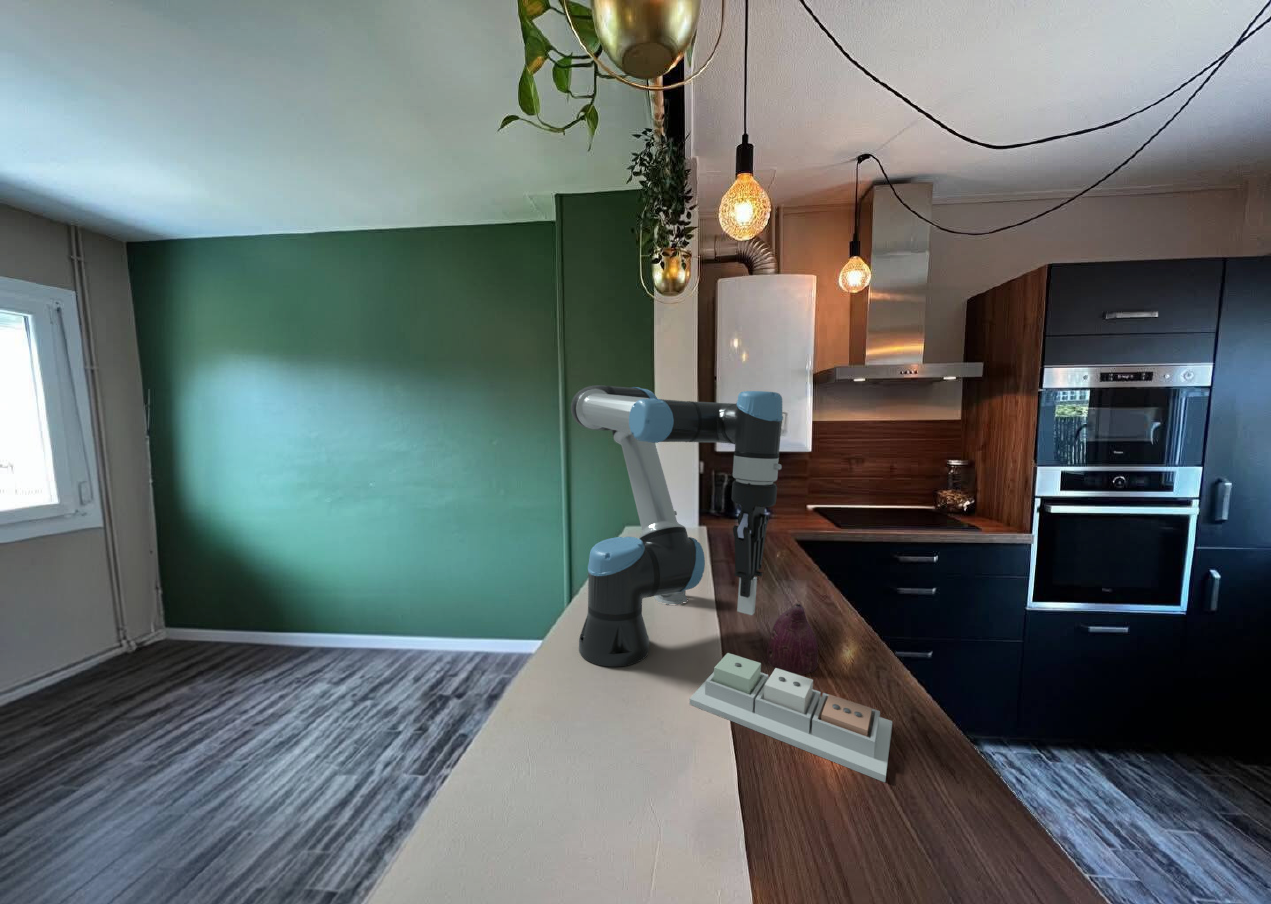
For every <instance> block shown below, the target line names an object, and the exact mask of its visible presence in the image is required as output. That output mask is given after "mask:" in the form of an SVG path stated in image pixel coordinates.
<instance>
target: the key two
mask: <svg viewBox="0 0 1271 904" xmlns="http://www.w3.org/2000/svg"><path fill="white" fill-rule="evenodd" d="M813 690H814V679H812V678H809V677H805V676H803V675H801V674H796V673H791V672H788V671H785V670H782V669H779V668H776V667H775V668H774V670H773V671H772V673H771V674H770V676H768V680H767V682H766V683H765V688H764V700H766V701H769V702H771V703H774V704H777V705H780V706H783V707H785V708H788V709H791V710H794V711H797V712H799V713H802V714H805V712H806V710H807V708H808V706H809V703H810V701H811V699H812V694H813Z"/></svg>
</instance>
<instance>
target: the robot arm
mask: <svg viewBox="0 0 1271 904" xmlns="http://www.w3.org/2000/svg"><path fill="white" fill-rule="evenodd" d="M570 412H571V416H572V418H573V419H574V421H575V423H577V424H578V425H579V426H581V427H582V428H585V429H589V430H594V431H610V432H611V433H612V437H613V441H614V443H616V444H619V445H621V449H622V453H623V457H624V461H625V466H626V469H627V473H628V478H629V482H630V486H631V487H630V488H631V490H632V491H631V492H632V495H633V499H634V502H635V505H636V506H635V507H636V511H637V515H638V519H639V520H638V521H639V523H640V527H641V530H642V531H641V533H640V535H638V537H634V536H618V537H617V536H616V537H611V538H610V537H609V538H607V539H603V540H601V541H599V542H597V543H595V544H594V546H592V548H591V549H590V552H589V557H588V558H589V559H588V565H587V571H588V580H587V581H588V582H587V586H588V588H587V590H588V591H587V593H588V594H587V596H588V597H587V614H586V618H585V621H584V624H583V626H582V630H581V632H580V636H579V639H578V651H579V654H580V656H581V657H582V658H583V659H585V661H587V662H589V663H592V664H594V665H599V666H601V667H616V668H617V667H625V666H626V667H627V666H630V665H633V664H636V663H639V662H640V661H642V660H644V659H645V658H646V657H647V656H648V654H649V651H650V637H649V635H648V632H647V628H646V624H645V620H644V617H643V599H646V598H652V597H654V596H658V595H663V594H668V593H674V592H677V593H680V592H682V591H684V590H686V591H687V590H691V589H694V588H695V587H697V586H698V585H699V584H700V583H701V581H702V578H703V576H704V572H705V569H706V567H705V565H706V560H705V559H706V558H705V552H704V548H703V547H702V545H701V543H700V542H698V540H697V539H696V538H694V537H691V536H689V535H688V532H687V528H686V526H684V525H682V524H681V523H679V522H678V520H677V515H675V512H674V511H675V510H674V509H675V508H674V505H673V503H672V499H671V496H670V492H669V488H668V484H667V481H666V477H665V474H664V469H663V466H662V463H661V459H660V455H659V452H658V449H657V446H656V444H657V443H658V444H659V443H721V444H729V445H730V444H731V445H734V452H733V453H734V454H733V464H732V465H733V466H732V477H733V478H734V481H733V482H731V483H732V487H731V501H732V502H733V503H735V504H738V505H739V506H740V512H739V513H738V516H737V524H738V525H736V524H735V525H733V527H732V532H733V536H734V537H733V538H734V575H733V576H735V577H737V578H738V579H739V580H738V581H739V582H738V591H737V592H738V594H737V595H738V597H737V609H736V612H738V613H741V614H745V615H750V616H754V614H755V611H756V597H757V583H758V577H762V576H763V571H759V570H761V569H762V566H763V557H764V548H765V542H766V535H767V534H766V533H767V528H768V523H769V519H770V518H769V515H767V514H765V511H766V510H765V509H766V508H769V507H773V506H775V505H776V503H777V493H778V491H777V490H778V486H777V484H776V483H774V482H776V481H777V480H778V475H779V474H778V473H779V471H780V470H782V467H783V466H782V464H780V463H779V459H780V446H781V445H780V444H781V434H782V425H783V420H784V416H783V397H782V395H781V394H780V393H778V392H775V391H767V390H766V391H764V390H746V391H745V390H743V391H741V392H739V393H738V395H737V401H736V403H730V402H713V401H712V402H711V401H709V402H708V401H692V400H691V401H690V400H687V401H686V400H678V399H677V400H675V399H663V398H658V397H657V396H656V394H655V393H654V392H653V391H651V390H649V389H648V388H641V387H636V386H632V387H627V386H624V387H623V386H613V385H599V384H596V385H589V386H585V387H584V388H582V389H580V390H579V391H577V392H576V394H575V395H574V396H573V397H572V400H571V403H570Z"/></svg>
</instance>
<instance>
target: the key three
mask: <svg viewBox="0 0 1271 904" xmlns="http://www.w3.org/2000/svg"><path fill="white" fill-rule="evenodd" d="M828 694H829V693H828ZM872 709H873V708H872V707H869V706H866V705H863V704H860V703H857V702H854V701H851V700H848V699H846V698H842V697H840V696H839V697H838V696H836V695H833V694H829V696H828V698H827V701H826V704H825V706H824V709H823V712H822V715H821V720H822V721H824V722H827V723H830V724H833V725H836V726H838V727H841V728H844V729H847V730H850V731H852V732H855V733H858V734H861V735H863V736H866V737H869V733H870V728H871V715H872Z"/></svg>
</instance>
